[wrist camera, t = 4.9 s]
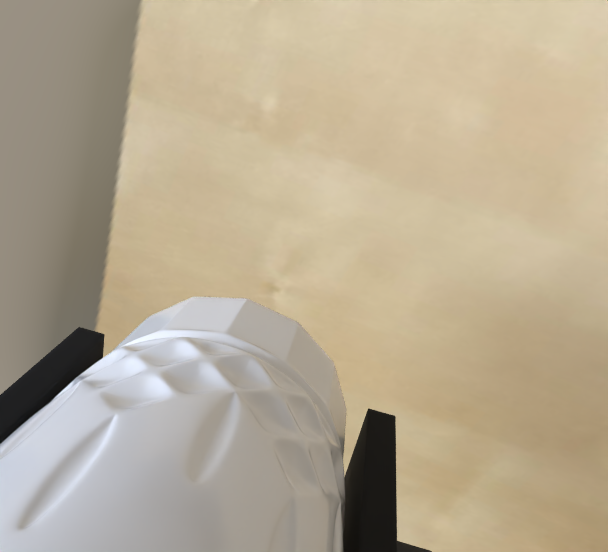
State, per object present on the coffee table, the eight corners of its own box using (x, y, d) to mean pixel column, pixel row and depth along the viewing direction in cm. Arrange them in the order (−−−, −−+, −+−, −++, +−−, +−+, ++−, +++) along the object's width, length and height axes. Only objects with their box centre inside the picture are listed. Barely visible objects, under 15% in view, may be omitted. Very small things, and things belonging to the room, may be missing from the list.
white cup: (66, 299, 15) (-449, 681, 6) (330, 247, 13) (185, 692, 4) (160, 505, 18) (-89, 986, 8) (391, 487, 16) (389, 1081, 7)
